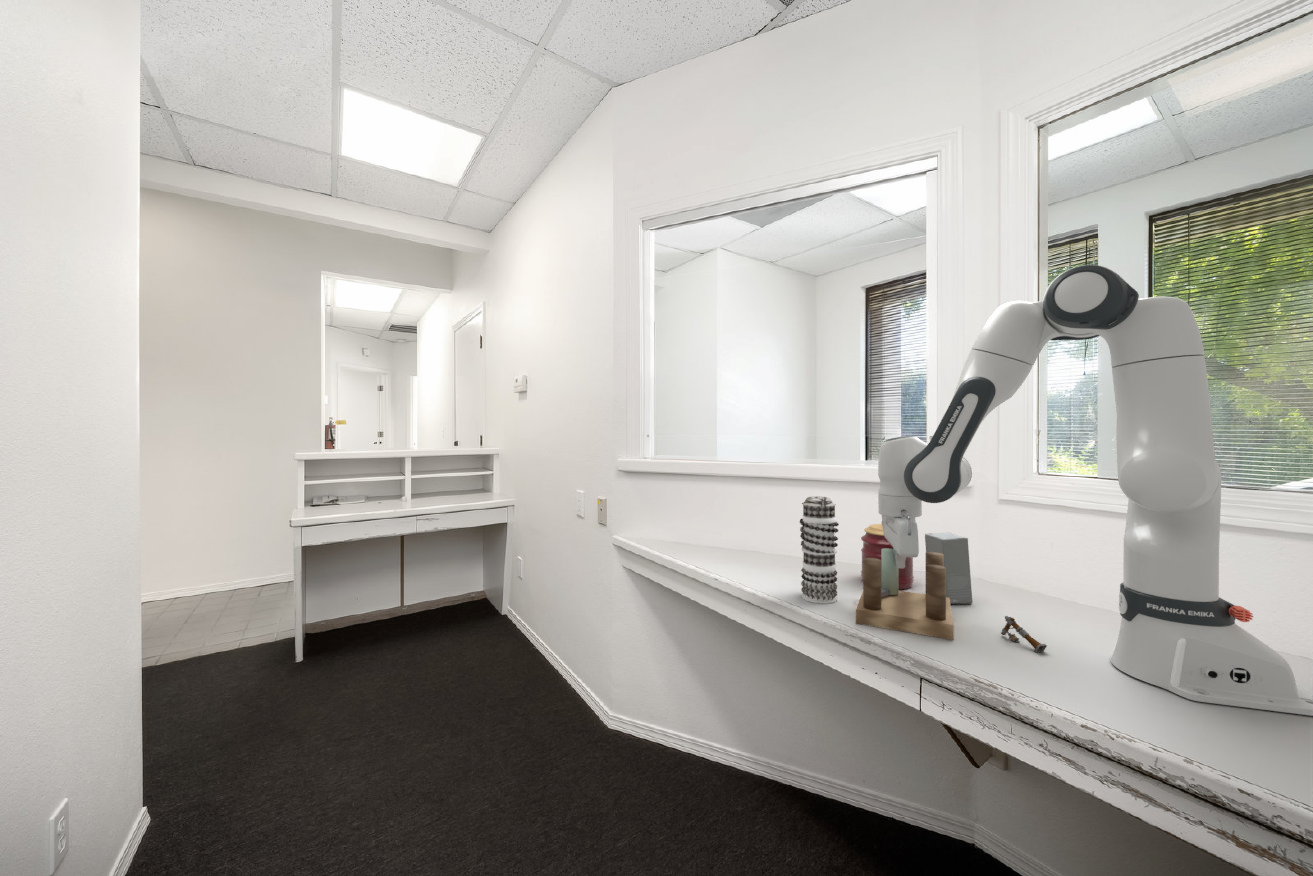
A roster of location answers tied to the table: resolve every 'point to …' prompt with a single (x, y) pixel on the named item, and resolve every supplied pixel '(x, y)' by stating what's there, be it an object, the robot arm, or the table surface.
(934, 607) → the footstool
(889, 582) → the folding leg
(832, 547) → the decorative candle
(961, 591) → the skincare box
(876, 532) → the canister
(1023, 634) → the wooden post with brackets
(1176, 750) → the table surface
